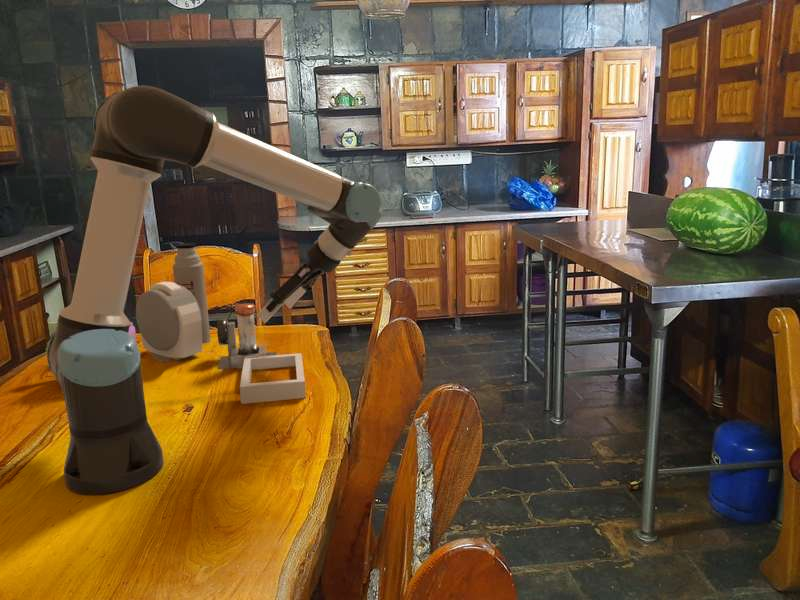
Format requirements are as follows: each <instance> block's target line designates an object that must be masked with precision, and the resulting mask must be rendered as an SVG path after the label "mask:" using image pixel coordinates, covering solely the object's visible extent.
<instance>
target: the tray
mask: <svg viewBox="0 0 800 600" xmlns="http://www.w3.org/2000/svg"><path fill="white" fill-rule="evenodd" d="M302 355H303V354H302V352H300V353H288V354H287V353H286V354H276V355H272V356H260V357H254V358H244V364H243V369H241V370H242V371H241V377H240V385H239V393H240V394H239V395H240V403H241V405H244V404H245V405H246V404H256V403H264V402H265V403H266V402H276V401H287V400H288V401H289V400H296V399H297V400H298V399H305V398H307V394H306V393H307V392H306V380H305V373H304V372H305V371H304V364H303V356H302ZM289 367H295V371H296V372H295V373H296V379H286V380H284V379H283V380H274V381H264V382H254V383H253V382H252V383H251V380H252V371H255V370H266V369H267V370H268V369H278V368H289Z"/></svg>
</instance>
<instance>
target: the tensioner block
mask: <svg viewBox="0 0 800 600" xmlns="http://www.w3.org/2000/svg"><path fill="white" fill-rule="evenodd" d="M216 323H217V326H216V327H217V328H216V329H217V330H216V331H217V340H218V345H219V346H227V353H228V355H221V356H220V358H219V361H218V365H217V367H216V368H217V369H216V370H225V369H226V370H228V369H231V370H232V369H238V370H243V364H244V358H254V357H260V356H272V355H277V351H272V352H271V351H270V352H267V348H266V345H261V346H260V345H256V348H257V354H246V355H240V346H238V347H237V336H236V324H235V321H230V322H229V320H228V319H227V318H225V319H217V322H216Z"/></svg>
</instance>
